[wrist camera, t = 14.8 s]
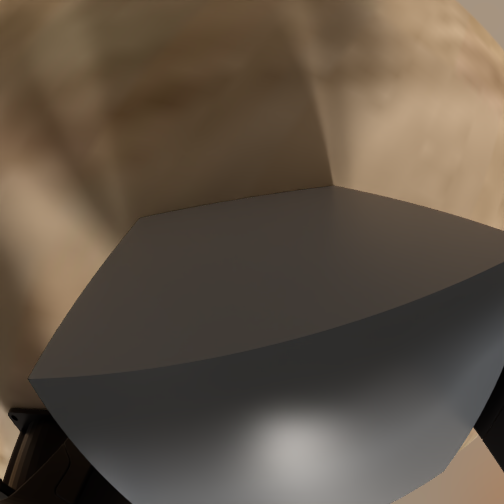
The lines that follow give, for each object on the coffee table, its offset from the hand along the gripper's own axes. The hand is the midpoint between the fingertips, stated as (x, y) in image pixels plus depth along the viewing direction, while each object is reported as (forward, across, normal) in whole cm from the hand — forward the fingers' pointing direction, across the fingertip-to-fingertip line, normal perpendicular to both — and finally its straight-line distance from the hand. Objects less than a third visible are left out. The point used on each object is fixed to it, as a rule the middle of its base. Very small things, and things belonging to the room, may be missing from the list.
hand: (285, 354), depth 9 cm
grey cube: (+4, 0, 0) cm, 4 cm away
